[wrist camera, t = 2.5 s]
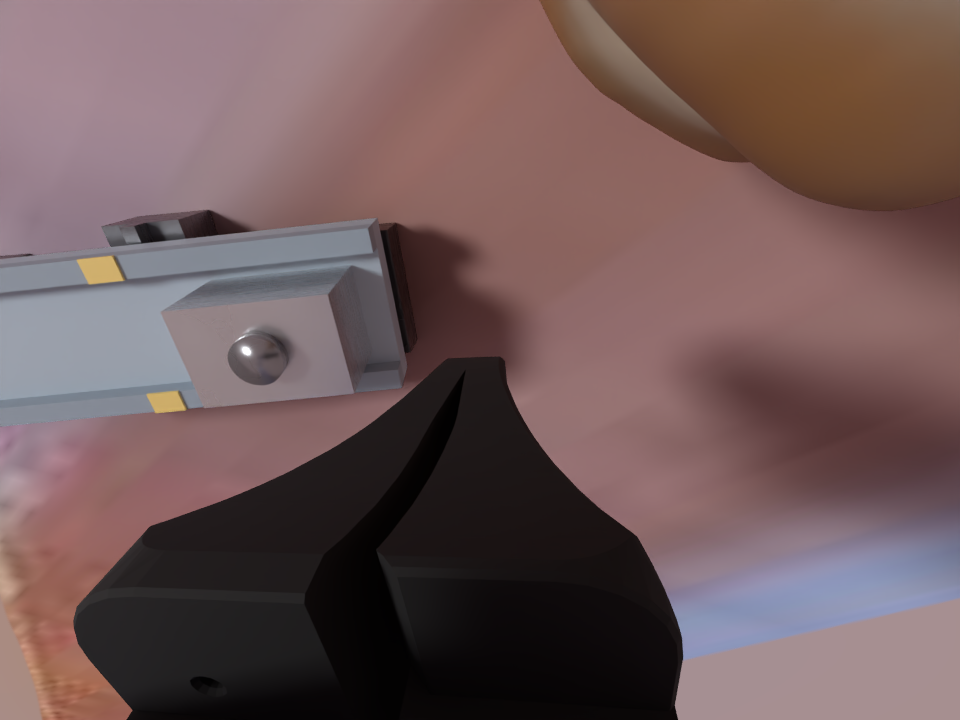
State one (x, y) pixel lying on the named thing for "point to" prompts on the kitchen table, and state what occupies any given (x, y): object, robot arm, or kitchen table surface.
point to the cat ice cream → (789, 87)
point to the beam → (159, 317)
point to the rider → (272, 336)
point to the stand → (203, 226)
